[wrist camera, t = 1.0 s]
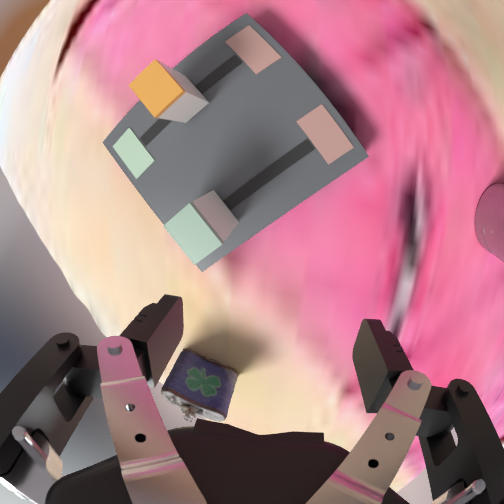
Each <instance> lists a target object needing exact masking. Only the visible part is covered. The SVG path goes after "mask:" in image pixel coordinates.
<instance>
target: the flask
mask: <svg viewBox="0 0 504 504" xmlns="http://www.w3.org/2000/svg"><path fill="white" fill-rule="evenodd" d="M237 377H238V373H237V372H236V371H235V370H234V369H232V368H230V367H228V366H227V367H226V366H224V365H221V364H220V363H219V362H216V361H214V360H210V359H207V358H205V356H201V355H199V354H198V353H196V352H194V351H192V350H191V349H183V351H182V352H181V353H180V355H179V357H178V359H177V360H176V363H175V364H174V366H173V369H172V370H171V372H170V374H169V376H168V377H167V379H166V381H165V383H164V385H163V387H162V391H161V394H162V396H163V398H164V399H166V400H168V401H169V402H170V403H171V404H175V405H176V406H178V407H180V408H181V411H182V412H183V413H185V414H186V415H185V416H184V417H185V418H188V419H190V422H192V421H191V420H192V419H193V418H195V417H196V415H199V416H201V417H204V418H208V419H211V420H214V421H223V420H225V419H226V417H227V413H228V408H229V404H230V401H231V397H232V394H233V392H234V387H235V384H236V380H237ZM195 414H196V415H195ZM185 418H183V420H185V421H188V420H187V419H185Z"/></svg>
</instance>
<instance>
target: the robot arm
mask: <svg viewBox="0 0 504 504" xmlns="http://www.w3.org/2000/svg"><path fill="white" fill-rule="evenodd" d="M475 230H476V235H477V238H478V240H479V242H480V244H481V245H482V246H483V247H484V248H485V249H486V250H488V251H489V252H490V253H492V254H493V255H495V256H496V257H498V258H499V259H500V260H502V261H503V262H504V184H502V183H496V184H494V185H491V186H490V187H489V188H488V189H487V190H486V191H485V192H484V193H483V195H482V197H481V199H480V200H479V203H478V206H477V210H476V215H475ZM183 328H184V325H183V301H182V298H181V297H178V296H172V295H166V294H165V295H164V296H163V297H162V298H161V299H160V301H159V302H158V303H157V304H156V303H152V304H150V305H148V306H146V307H144V308H143V309H142V310H141V311H140V313H139V314H138V315H137V316H136V317H135V318H134V320H133V321H132V322H131V323H130V324H129V325H128V326H127V328H126V329H125V330H124V331H123V332H122V333H121V335H120V336H111V337H107V338H105V339H103V340H102V341H100V342H99V344H98V345H97V346H86V345H80V342H79V339H78V337H77V336H76V335H75V334H72V333H60V334H57V335H55V336H53V337H52V338H51V339H50V340H49V341H48V342H47V343H46V344H45V345H44V346H43V347H42V348H41V349H40V350H39V351H38V352H37V353H36V354H35V355H34V356H33V357H32V359H31V360H30V361H29V362H28V363H27V364H26V365H25V366H24V367H23V368H22V369H21V371H20V372H19V373H18V374H17V375H16V376H15V377H14V378H13V379H12V381H11V382H10V383H9V384H8V385H7V386H6V388H5V389H4V390H3V391H2V392H1V393H0V482H1V483H2V484H3V485H4V486H5V487H7V488H8V489H10V490H11V491H13V492H14V493H15V494H17V495H18V496H19V497H20V498H22V499H25V500H31V501H32V502H34V503H35V504H409V503H408V502H407V501H406V500H404V499H403V498H402V497H401V496H399V495H398V494H397V493H396V492H395V491H393V490H392V489H391V488H390V487H389V486H390V484H391V482H392V481H393V479H394V477H395V475H396V474H397V472H398V470H399V468H400V466H401V464H402V462H403V461H404V459H405V457H406V455H407V453H408V451H409V448H410V446H411V444H412V442H413V440H414V438H415V436H418V437H419V440H420V444H421V448H422V452H423V456H424V460H425V464H426V469H427V473H428V478H429V482H430V487H431V492H432V498H433V502H432V503H431V504H504V448H503V446H502V444H501V441H500V439H499V437H498V434H497V432H496V430H495V428H494V426H493V424H492V421H491V419H490V417H489V415H488V413H487V411H486V409H485V407H484V405H483V403H482V401H481V399H480V398H479V396H478V394H477V392H476V390H475V388H474V387H473V386H472V385H471V384H470V383H469V382H467V381H465V380H462V379H454V380H452V381H451V382H450V383H449V385H448V387H447V388H442V387H436V386H431V382H430V380H429V378H428V377H427V376H426V375H424V374H423V373H421V372H418V371H415V370H413V368H412V366H411V364H410V362H409V360H408V358H407V356H406V354H405V352H404V350H403V349H402V347H401V346H400V343H399V341H398V339H397V337H396V336H394V335H393V334H392V333H391V332H390V331H386V330H385V328H384V326H383V324H382V322H381V320H377V319H363V321H362V323H361V326H360V329H359V332H358V335H357V339H356V342H355V345H354V348H353V362H354V366H355V370H356V373H357V377H358V381H359V385H360V388H361V392H362V396H363V400H364V404H365V408H366V412H367V413H377V415H376V416H375V418H374V419H373V421H372V422H371V424H370V425H369V427H368V428H367V430H366V431H365V433H364V434H363V435H362V437H361V438H360V440H359V441H358V442H357V444H356V445H355V447H354V448H353V449H352V451H351V452H348V451H347V450H345V449H343V448H342V447H340V446H337V445H335V444H332V443H329V442H325V441H324V433H314V432H286V433H278V434H269V435H257V434H254V433H251V432H248V431H245V430H242V429H239V428H237V427H234V426H231V425H229V424H223V423H218V422H212V421H207V420H202V419H197V420H196V423H195V426H194V427H181V428H175V429H171V430H168V431H167V430H166V427H165V425H164V423H163V421H162V418H161V416H160V414H159V411H158V409H157V407H156V404H155V402H154V399H153V397H152V394H151V392H150V389H149V386H150V387H154V388H155V386H156V384H157V383H158V381H159V379H160V377H161V375H162V373H163V372H164V370H165V368H166V366H167V364H168V362H169V360H170V359H171V357H172V355H173V353H174V351H175V349H176V348H177V346H178V344H179V342H180V340H181V338H182V335H183ZM61 382H63V384H62V386H61V387H60V389H59V390H58V391H57V393H56V394H55V395H54V392H55V390H56V388H57V387H58V386H59V384H60V383H61ZM94 397H96V398H103V402H104V406H105V411H106V415H107V420H108V424H109V427H110V431H111V435H112V439H113V443H114V446H115V449H116V453H117V455H115V456H113V457H111V458H109V459H106V460H104V461H101V462H99V463H97V464H94V465H92V466H90V467H87V468H84V469H82V470H79V471H76V472H74V473H71V474H68V475H66V476H64V477H62V473H61V472H62V469H63V464H62V460H61V458H60V454H61V453H62V451H63V449H64V447H65V446H66V444H67V442H68V440H69V439H70V437H71V435H72V433H73V432H74V430H75V428H76V427H77V425H78V423H79V421H80V420H81V418H82V416H83V415H84V413H85V411H86V410H87V408H88V406H89V405H90V403H91V402H92V400H93V398H94ZM453 428H455V431H456V433H457V436H458V444H457V447H456V445H455V442H454V439H453V436H452V434H451V430H452V429H453Z"/></svg>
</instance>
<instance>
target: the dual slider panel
mask: <svg viewBox="0 0 504 504" xmlns="http://www.w3.org/2000/svg"><path fill="white" fill-rule="evenodd" d="M173 69H174V70H176V71H178V72H179V73H181V74H183V75H185V76H186V77H187V78H188V79H189V80H190V81H191V83H192V84H193V85H194V86H195V87H196V88H197V89H198V91H199V92H200V93H201V94H202V95H203V96H204V97H205V99H206V100H207V101H208V102H209V104H207V105H206V106H205V107H204V108H203V109H201V110H200V111H199V112H198V113H197V114H196V115H194V116H193V117H192V118H191V119H190V120H189V121H188V122H186V123H183V122H178V121H172V120H166V119H160V118H154V116H153V115H152V114H151V113H150V111H149V110H148V109H147V108H146V106H145V105H144V104H143V103H142V101H141V100H140V101H139V102H138V103H137V104H136V105H135V106H134V107H133V108H132V109H131V110H130V111H129V112H128V113H127V115H126V116H125V117H124V118H123V119H122V120H121V121H120V122H119V124H118V125H117V126H116V127H115V128H114V129H113V130H112V132H111V133H110V134H109V135H108V136H107V138H106V139H105V140H104V141H103V144H104V145H105V146H106V148H107V149H108V151H109V152H110V153H111V155H112V156H113V158H114V159H115V160H116V162H117V163H118V165H119V166H120V167H121V169H122V170H123V172H124V173H125V174H126V176H127V177H128V178H129V180H130V181H131V182H132V184H133V185H134V186H135V188H136V189H137V190H138V192H139V193H140V194H141V196H142V197H143V198H144V200H145V201H146V202H147V204H148V205H149V206H150V208H151V209H152V210H153V211H154V213H155V214H156V215H157V217H158V218H159V219H160V220H161V222H162V223H163V224H164V225H165V224H166V223H167V222H168V221H169V220H171V219H172V218H173V217H174V216H175V215H176V214H177V213H178V212H180V211H181V210H182V209H183V208H184V207H185V206H187V205H188V204H189V203H190V202H192V201H194V200H196V199H198V198H199V197H201V196H203V195H205V194H207V193H209V192H211V191H212V190H214V191H215V192H216V193H217V195H218V196H219V197H220V199H221V200H222V201H223V202H224V204H225V205H226V206H227V207H228V209H229V210H230V211H231V213H232V214H233V215H234V216H235V218H236V219H237V220H238V222H239V223H238V224H237V225H236V227H235V228H234V229H233V231H232V232H231V233H230V235H229V236H228V238H227V239H226V240H225V242H224V243H223V244H222V245H221V246H220V247H218V248H217V249H215V250H214V251H213V252H211V253H210V254H209V255H207V256H206V257H205V258H203V259H202V260H200V261H199V262H198V263H196V265H197V266H198V268H199V269H200V270H201V271H202V272H203V271H204V270H206V269H207V268H208V267H210V266H211V265H213V264H214V263H215V262H217V261H218V260H220V259H221V258H223V257H224V256H225V255H227V254H228V253H230V252H231V251H232V250H234V249H235V248H237V247H238V246H240V245H241V244H242V243H244V242H245V241H247V240H248V239H250V238H251V237H252V236H254V235H255V234H257V233H258V232H260V231H261V230H262V229H264V228H265V227H267V226H268V225H270V224H271V223H272V222H274V221H275V220H277V219H278V218H280V217H281V216H283V215H284V214H285V213H287V212H288V211H290V210H291V209H293V208H294V207H296V206H297V205H298V204H300V203H301V202H303V201H304V200H306V199H307V198H309V197H310V196H311V195H313V194H314V193H316V192H317V191H319V190H320V189H322V188H323V187H325V186H326V185H328V184H329V183H330V182H332V181H333V180H335V179H336V178H338V177H339V176H341V175H342V174H344V173H345V172H347V171H348V170H350V169H351V168H352V167H354V166H355V165H357V164H358V163H360V162H361V161H363V160H364V159H366V158H367V157H369V156H368V154H367V153H366V151H365V150H364V148H363V147H362V145H361V144H360V142H359V141H358V139H357V138H356V136H355V135H354V134H353V132H352V131H351V129H350V128H349V127H348V125H347V124H346V122H345V121H344V120H343V118H342V117H341V116H340V114H339V113H338V112H337V110H336V109H335V108H334V106H333V105H332V104H331V103H330V101H329V100H328V99H327V97H326V96H325V95H324V94H323V93H322V91H321V90H320V89H319V88H318V86H317V85H316V84H315V83H314V82H313V80H312V79H311V78H310V77H309V76H308V75H307V74H306V72H305V71H304V70H303V69H302V68H301V67H300V66H299V65H298V63H297V62H296V61H295V60H294V59H293V58H292V57H291V56H290V55H289V54H288V53H287V52H286V51H285V50H284V48H283V47H282V46H281V45H280V44H279V43H278V42H277V41H276V40H275V39H274V38H273V37H272V36H271V35H270V34H269V33H267V32H266V31H265V30H264V29H263V28H262V27H261V26H260V25H259V24H258V23H257V22H256V21H255V20H254V19H252V18H251V17H250V16H249V15H248V14H247V13H246V14H244V15H243V16H241V17H240V18H238V19H237V20H235V21H234V22H232V23H231V24H229V25H228V26H226V27H225V28H224V29H222V30H221V31H219V32H218V33H217V34H215V35H214V36H212V37H211V38H210V39H208V40H207V41H206V42H205V43H203V44H202V45H201V46H199V47H198V48H197V49H196V50H194V51H193V52H192V53H191V54H189V55H188V56H187V57H186V58H185V59H183V60H182V61H181V62H180V63H179V64H178V65H177V66H175V67H174V68H173Z"/></svg>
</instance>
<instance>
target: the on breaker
mask: <svg viewBox="0 0 504 504" xmlns="http://www.w3.org/2000/svg"><path fill="white" fill-rule="evenodd" d="M238 223H239V222H238V220H237V219H236V218H235V216H234V215H233V214H232V213H231V211H230V210H229V209H228V207H227V206H226V205H225V204H224V202H223V201H222V200H221V199H220V197H219V196H218V195H217V193H216V192H215V191H214V190H212V191H211V192H209V193H207V194H205V195H203V196H201V197H199V198H198V199H196V200H194V201H192V202H190V203H189V204H188V205H187V206H185V207H184V208H183V209H182V210H181V211H180V212H178V213H177V214H176V215H175V216H174V217H173V218H172V219H171V220H169V221H168V222H167V223H166V224H165V225H164V227H165V229H166V230H167V231H168V233H169V234H170V235H171V236H172V238H173V239H174V240H175V241H176V243H177V244H178V245H179V246H180V248H181V249H182V250H183V251H184V252H185V254H186V255H187V256H188V257H189V259H190V260H191V261H192V262H193V263H194V265H195V264H196V263H198V262H199V261H200V260H202V259H203V258H205V257H206V256H207V255H209V254H210V253H211V252H213V251H214V250H215V249H217V248H218V247H220V246H221V245H222V244H223V243H224V242H225V240H226V239H227V238H228V236H229V235H230V233H231V232H232V231H233V229H234V228H235V227H236V225H237V224H238Z"/></svg>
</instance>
